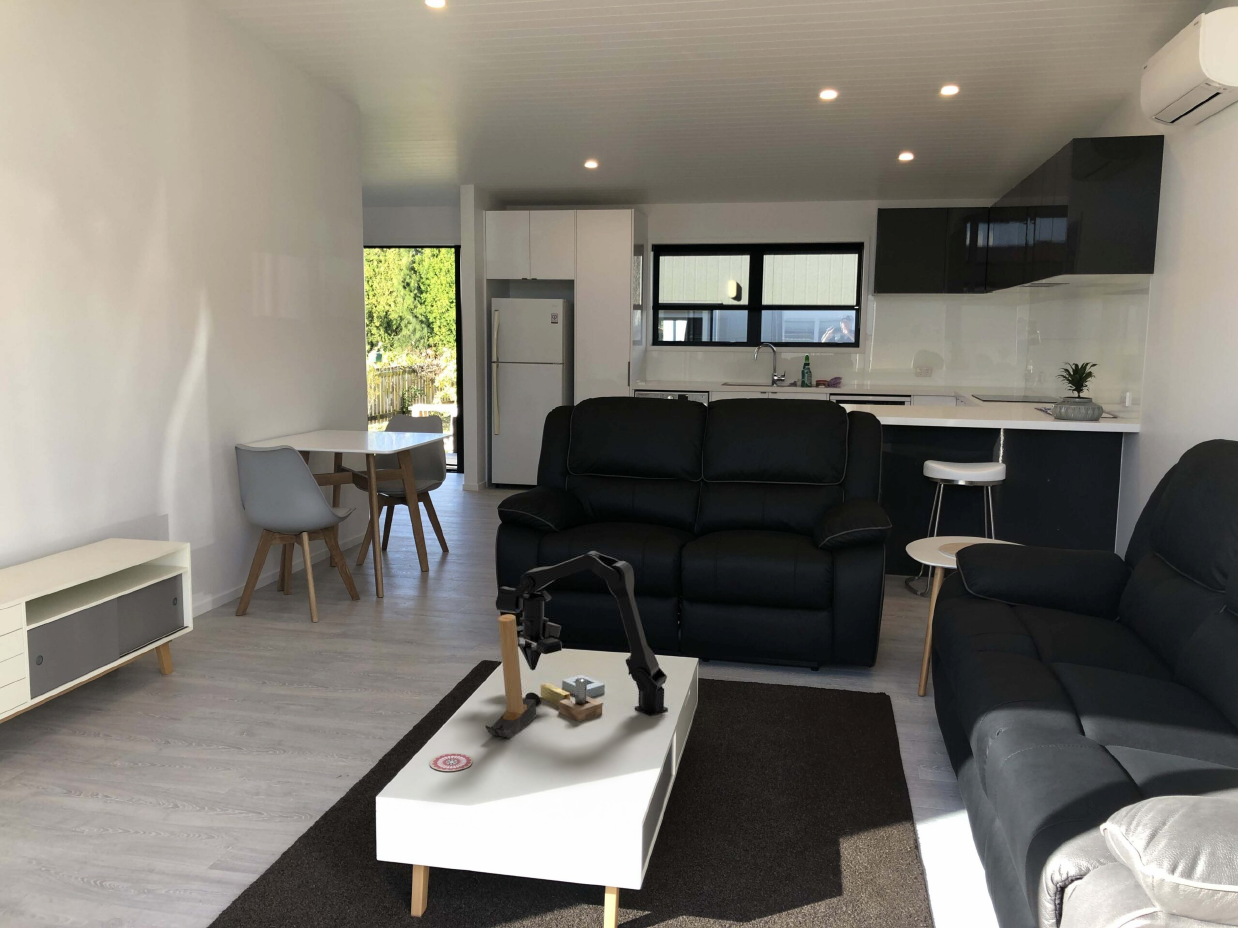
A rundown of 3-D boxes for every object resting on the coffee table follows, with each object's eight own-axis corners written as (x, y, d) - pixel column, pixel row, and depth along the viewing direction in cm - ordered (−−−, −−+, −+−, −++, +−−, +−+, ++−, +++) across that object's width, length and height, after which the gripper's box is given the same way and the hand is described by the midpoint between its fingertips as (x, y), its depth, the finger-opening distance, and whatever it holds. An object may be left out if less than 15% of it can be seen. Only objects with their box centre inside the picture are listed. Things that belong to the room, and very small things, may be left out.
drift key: (570, 705, 245) (570, 693, 244) (563, 707, 243) (563, 694, 243) (546, 695, 252) (547, 682, 252) (540, 697, 250) (540, 684, 250)
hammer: (505, 750, 221) (495, 637, 212) (487, 747, 223) (476, 635, 214) (542, 708, 239) (534, 602, 230) (525, 705, 240) (516, 599, 232)
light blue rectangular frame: (604, 692, 255) (604, 684, 254) (585, 698, 250) (585, 689, 250) (581, 683, 262) (581, 674, 262) (562, 688, 257) (562, 680, 257)
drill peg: (588, 713, 240) (589, 680, 239) (579, 716, 238) (580, 682, 237) (581, 710, 242) (581, 677, 241) (572, 712, 240) (573, 679, 239)
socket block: (602, 713, 239) (602, 702, 239) (578, 721, 234) (578, 710, 234) (582, 705, 245) (582, 694, 245) (559, 712, 240) (559, 701, 240)
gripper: (577, 617, 251) (576, 672, 253) (536, 603, 265) (535, 655, 267) (545, 624, 244) (544, 681, 245) (504, 609, 257) (504, 663, 259)
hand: (532, 669), depth 254 cm, fingers closed
